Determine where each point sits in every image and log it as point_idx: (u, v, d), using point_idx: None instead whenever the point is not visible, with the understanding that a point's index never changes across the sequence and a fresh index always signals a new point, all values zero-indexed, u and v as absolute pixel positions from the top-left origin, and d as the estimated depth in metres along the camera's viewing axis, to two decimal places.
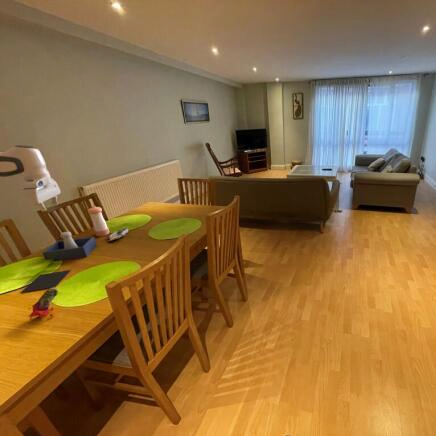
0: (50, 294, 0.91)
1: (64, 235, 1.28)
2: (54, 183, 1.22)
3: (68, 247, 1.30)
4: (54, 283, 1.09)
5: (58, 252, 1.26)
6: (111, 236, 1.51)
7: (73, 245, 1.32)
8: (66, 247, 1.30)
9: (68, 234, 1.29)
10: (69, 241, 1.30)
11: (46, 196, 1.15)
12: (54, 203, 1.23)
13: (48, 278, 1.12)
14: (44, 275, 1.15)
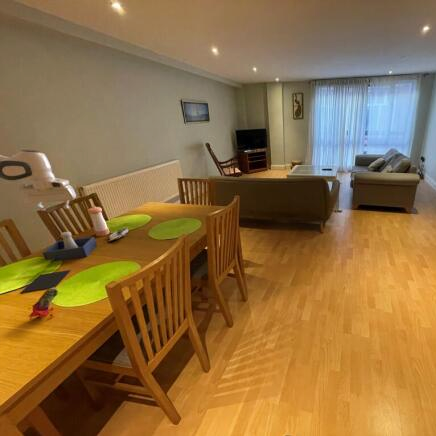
0: (50, 294, 0.91)
1: (64, 235, 1.28)
2: None
3: (68, 247, 1.30)
4: (54, 283, 1.09)
5: (58, 252, 1.26)
6: (111, 236, 1.51)
7: (73, 245, 1.32)
8: (66, 247, 1.30)
9: (68, 234, 1.29)
10: (69, 241, 1.30)
11: None
12: (45, 208, 1.23)
13: (48, 278, 1.12)
14: (44, 275, 1.15)
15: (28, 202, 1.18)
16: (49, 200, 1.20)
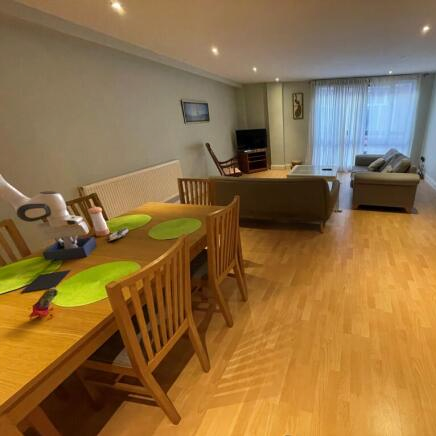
0: (50, 294, 0.91)
1: (64, 235, 1.28)
2: None
3: (68, 247, 1.30)
4: (54, 283, 1.09)
5: (58, 252, 1.26)
6: (111, 236, 1.51)
7: (73, 245, 1.32)
8: (66, 247, 1.30)
9: None
10: (69, 241, 1.30)
11: None
12: None
13: (48, 278, 1.12)
14: (44, 275, 1.15)
15: (44, 238, 1.26)
16: None
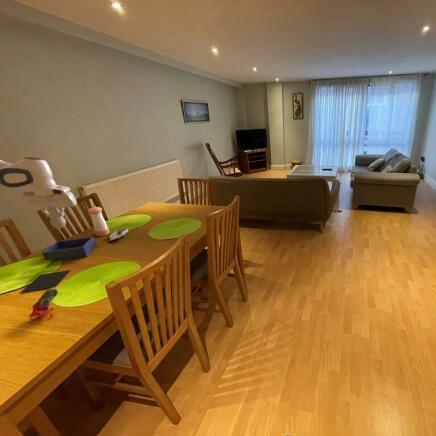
0: (50, 294, 0.91)
1: (50, 206, 1.20)
2: None
3: (54, 219, 1.23)
4: (54, 283, 1.09)
5: (58, 252, 1.26)
6: (111, 236, 1.51)
7: (60, 217, 1.24)
8: (52, 219, 1.22)
9: None
10: (55, 212, 1.23)
11: None
12: None
13: (48, 278, 1.12)
14: (44, 275, 1.15)
15: (28, 209, 1.18)
16: None
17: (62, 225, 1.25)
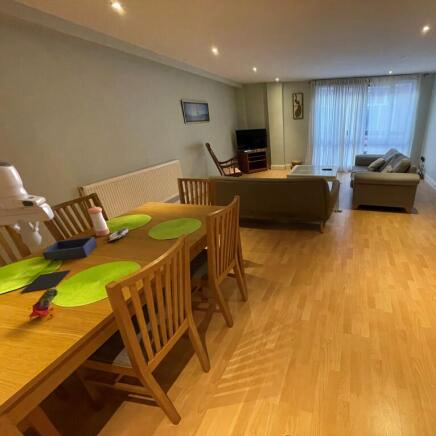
0: (50, 294, 0.91)
1: (20, 220, 1.00)
2: None
3: (26, 236, 1.02)
4: (54, 283, 1.09)
5: (58, 252, 1.26)
6: (111, 236, 1.51)
7: (33, 233, 1.04)
8: (23, 236, 1.02)
9: None
10: (27, 228, 1.02)
11: None
12: None
13: (48, 278, 1.12)
14: (44, 275, 1.15)
15: None
16: None
17: (36, 242, 1.05)
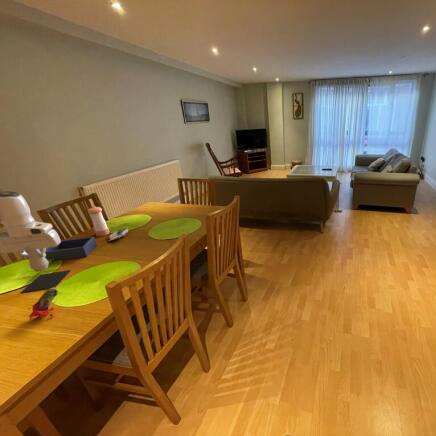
0: (50, 294, 0.91)
1: (28, 247, 1.02)
2: None
3: (34, 262, 1.04)
4: (54, 283, 1.09)
5: (58, 252, 1.26)
6: (111, 236, 1.51)
7: (41, 259, 1.06)
8: (31, 262, 1.04)
9: None
10: (35, 254, 1.04)
11: None
12: None
13: (48, 278, 1.12)
14: (44, 275, 1.15)
15: (3, 252, 1.00)
16: None
17: (44, 267, 1.07)
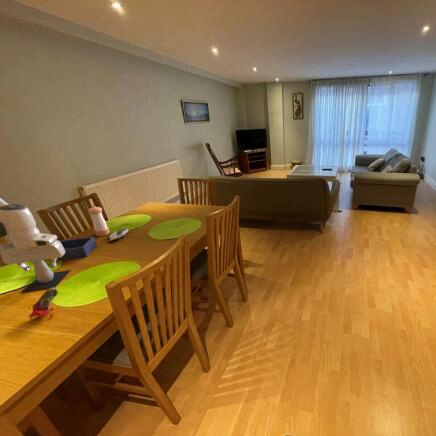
0: (50, 294, 0.91)
1: (34, 259, 1.05)
2: None
3: (39, 274, 1.07)
4: (54, 283, 1.09)
5: None
6: (111, 236, 1.51)
7: (46, 271, 1.08)
8: (37, 274, 1.07)
9: None
10: (40, 266, 1.07)
11: None
12: (29, 267, 1.07)
13: None
14: None
15: (8, 263, 1.02)
16: None
17: (49, 279, 1.10)
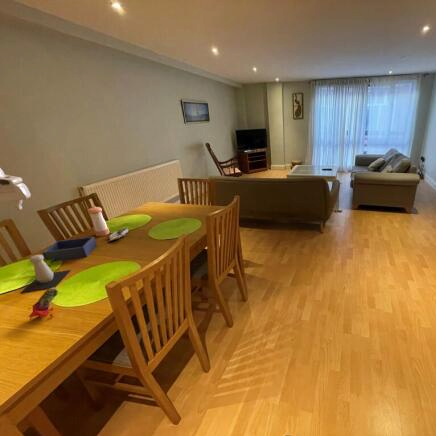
0: (50, 294, 0.91)
1: (34, 259, 1.05)
2: None
3: (39, 274, 1.07)
4: (54, 283, 1.09)
5: (58, 252, 1.26)
6: (111, 236, 1.51)
7: (46, 271, 1.08)
8: (37, 274, 1.07)
9: (39, 258, 1.06)
10: (40, 266, 1.07)
11: None
12: None
13: None
14: None
15: None
16: None
17: (49, 279, 1.10)
